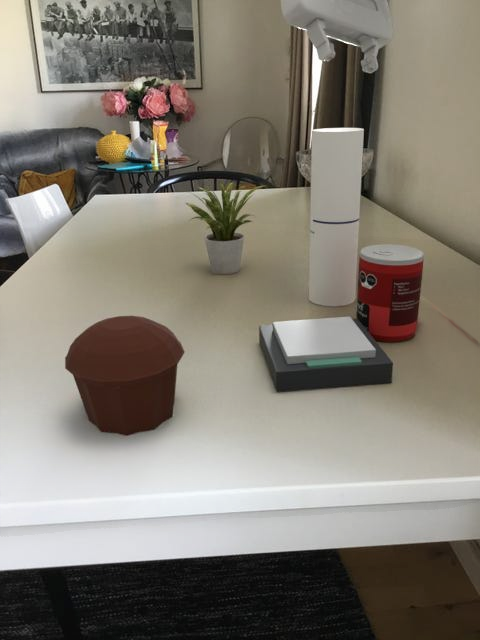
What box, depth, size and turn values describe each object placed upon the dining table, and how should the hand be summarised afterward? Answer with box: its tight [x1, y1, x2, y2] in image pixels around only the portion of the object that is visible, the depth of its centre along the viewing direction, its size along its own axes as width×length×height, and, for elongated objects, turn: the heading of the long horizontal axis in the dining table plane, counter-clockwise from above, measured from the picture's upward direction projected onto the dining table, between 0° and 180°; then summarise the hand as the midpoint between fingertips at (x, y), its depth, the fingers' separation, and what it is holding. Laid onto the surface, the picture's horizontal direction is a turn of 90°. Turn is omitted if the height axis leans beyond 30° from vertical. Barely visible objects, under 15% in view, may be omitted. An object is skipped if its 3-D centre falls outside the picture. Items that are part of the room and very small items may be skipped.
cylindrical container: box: [308, 127, 365, 307], centre depth 83 cm, size 7×7×25 cm
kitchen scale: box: [258, 316, 394, 393], centre depth 68 cm, size 13×13×4 cm
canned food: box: [355, 243, 425, 343], centre depth 74 cm, size 8×8×11 cm
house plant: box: [185, 180, 268, 275], centre depth 101 cm, size 14×14×16 cm
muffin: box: [64, 315, 185, 437], centre depth 57 cm, size 12×11×10 cm
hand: (350, 65), depth 78 cm, fingers open, 8 cm apart
